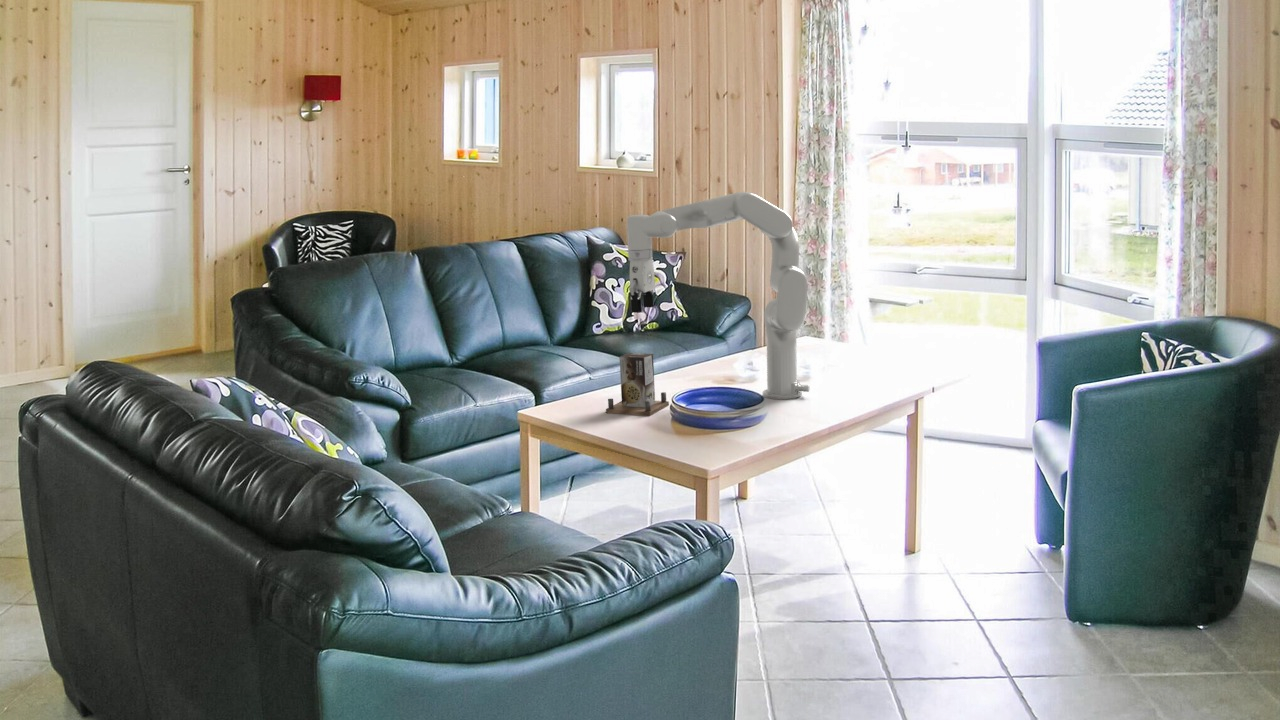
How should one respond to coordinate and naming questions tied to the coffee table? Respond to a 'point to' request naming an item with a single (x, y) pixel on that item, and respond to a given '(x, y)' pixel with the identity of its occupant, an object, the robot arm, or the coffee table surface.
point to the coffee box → (637, 379)
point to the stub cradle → (645, 411)
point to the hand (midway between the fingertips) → (642, 309)
